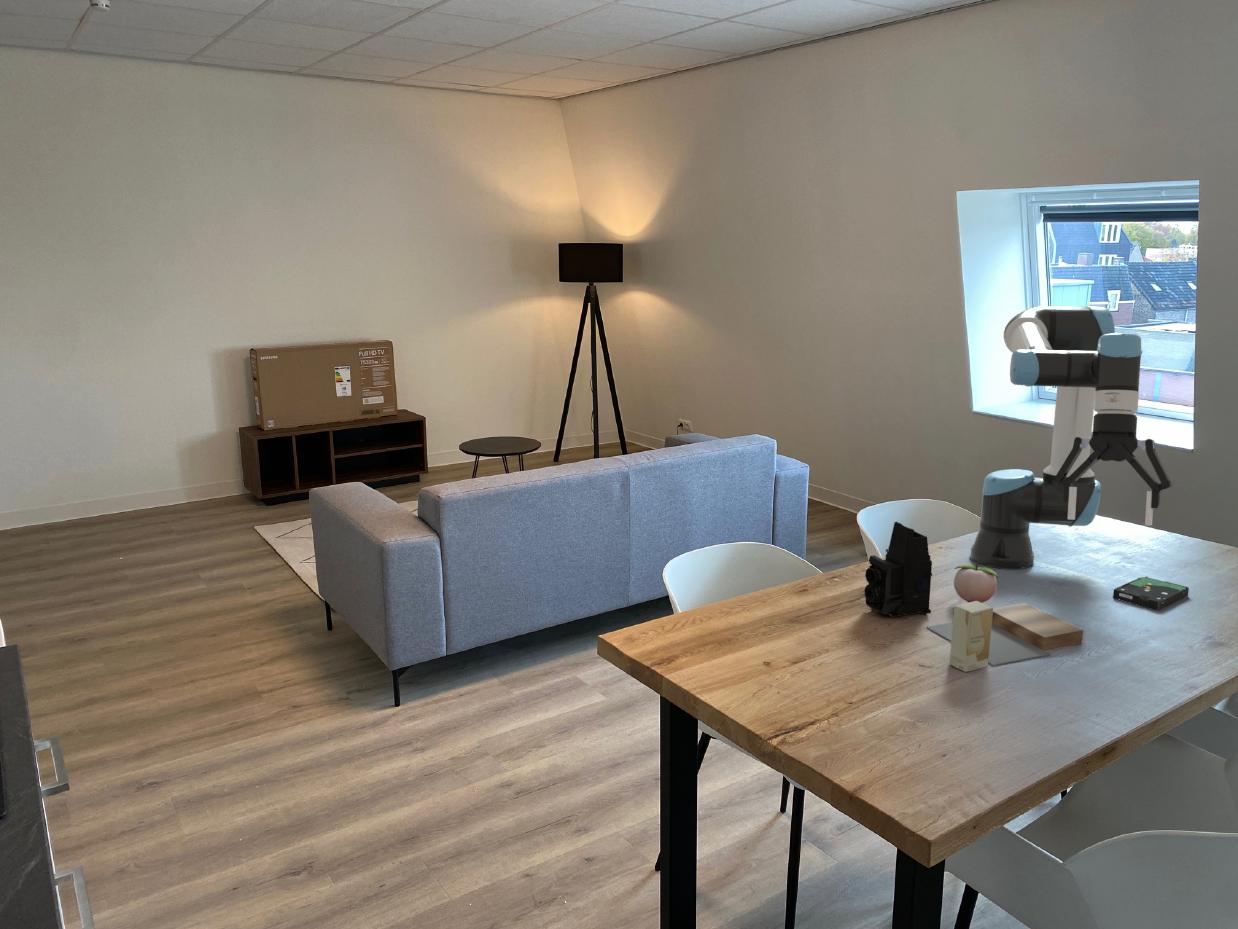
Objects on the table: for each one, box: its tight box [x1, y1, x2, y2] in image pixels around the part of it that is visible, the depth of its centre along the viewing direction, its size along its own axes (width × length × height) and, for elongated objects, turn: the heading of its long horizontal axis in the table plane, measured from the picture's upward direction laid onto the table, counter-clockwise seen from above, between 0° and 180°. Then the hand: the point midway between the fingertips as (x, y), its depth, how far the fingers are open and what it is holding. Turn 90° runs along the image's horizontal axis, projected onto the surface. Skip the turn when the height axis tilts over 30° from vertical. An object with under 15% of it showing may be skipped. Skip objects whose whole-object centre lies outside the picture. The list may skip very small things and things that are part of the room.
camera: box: [864, 521, 933, 618], centre depth 205 cm, size 10×14×20 cm
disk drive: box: [1112, 576, 1190, 612], centre depth 214 cm, size 10×3×15 cm
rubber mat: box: [926, 621, 1051, 667], centre depth 191 cm, size 20×14×1 cm
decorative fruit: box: [953, 562, 999, 603], centre depth 209 cm, size 9×8×10 cm
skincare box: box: [948, 601, 994, 673], centre depth 179 cm, size 6×4×12 cm
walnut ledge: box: [992, 602, 1084, 652], centre depth 195 cm, size 16×10×3 cm, turn 19°
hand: (1108, 522), depth 181 cm, fingers open, 13 cm apart
